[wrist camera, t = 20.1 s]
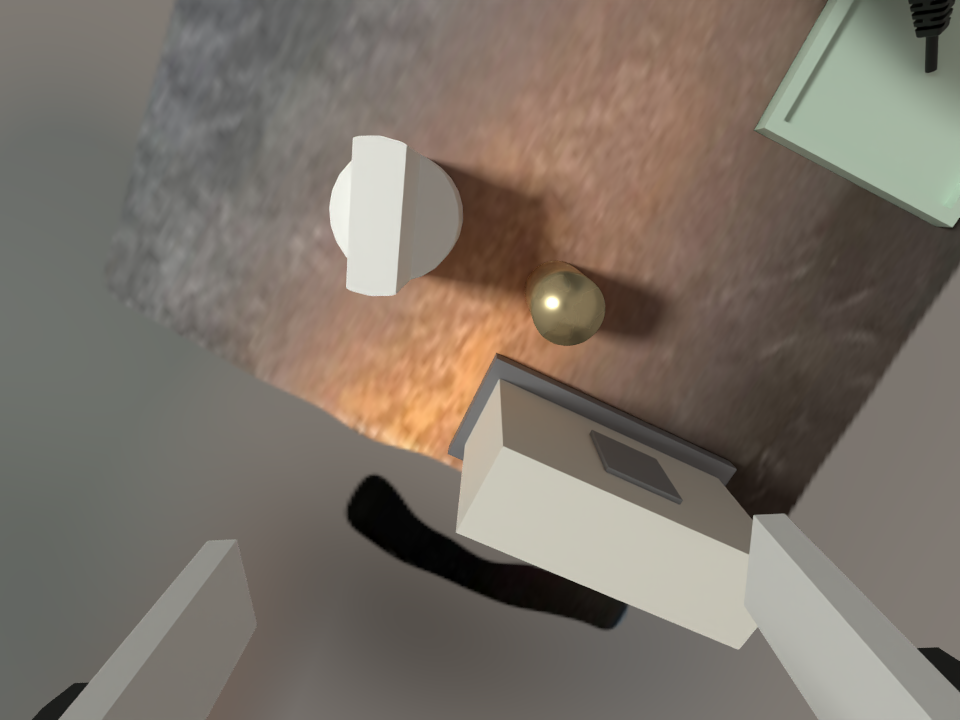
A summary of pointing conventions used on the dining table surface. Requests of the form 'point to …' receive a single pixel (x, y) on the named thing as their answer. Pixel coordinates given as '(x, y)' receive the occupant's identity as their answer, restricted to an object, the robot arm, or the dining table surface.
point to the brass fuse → (564, 303)
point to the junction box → (604, 501)
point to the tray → (876, 106)
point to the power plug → (931, 25)
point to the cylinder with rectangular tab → (392, 215)
